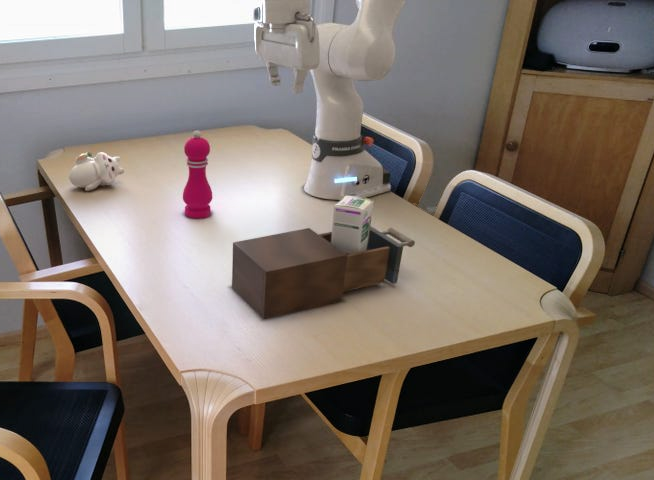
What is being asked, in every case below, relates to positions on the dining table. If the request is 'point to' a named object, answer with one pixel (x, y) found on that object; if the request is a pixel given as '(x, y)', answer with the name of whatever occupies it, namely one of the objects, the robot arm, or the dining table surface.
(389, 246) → the drawer
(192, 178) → the pepper mill
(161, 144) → the dining table surface
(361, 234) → the syrup box
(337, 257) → the cabinet
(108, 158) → the cat figurine
